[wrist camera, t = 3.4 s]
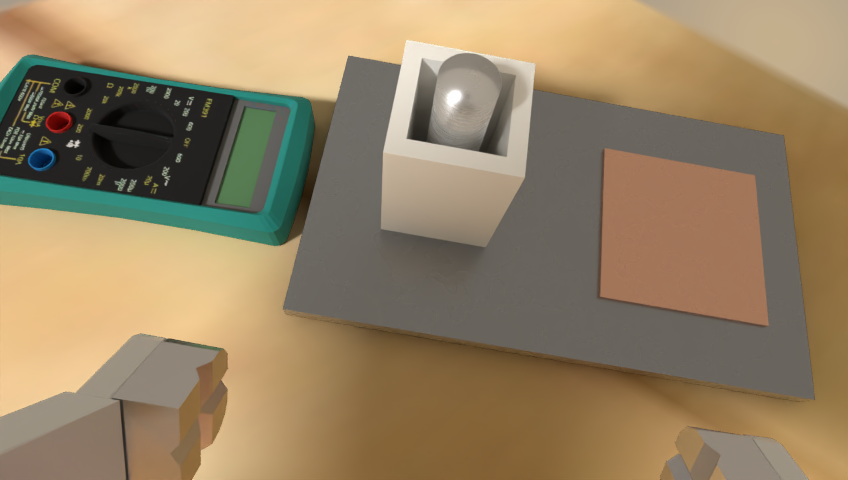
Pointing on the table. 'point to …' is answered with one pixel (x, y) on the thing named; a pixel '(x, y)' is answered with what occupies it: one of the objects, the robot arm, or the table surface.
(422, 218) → the sleeve
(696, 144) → the post plate
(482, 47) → the table surface
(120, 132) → the digital multimeter
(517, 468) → the table surface
